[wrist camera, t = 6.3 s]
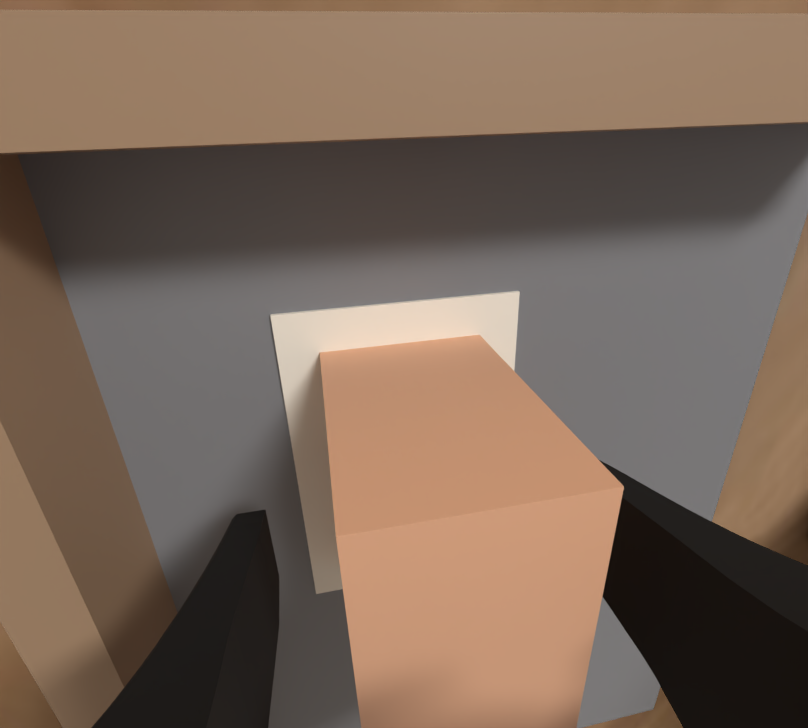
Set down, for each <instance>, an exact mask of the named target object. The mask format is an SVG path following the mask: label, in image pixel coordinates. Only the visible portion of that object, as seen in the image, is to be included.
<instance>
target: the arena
mask: <svg viewBox="0 0 808 728" xmlns="http://www.w3.org/2000/svg"><path fill="white" fill-rule="evenodd" d="M807 213H808V14H780V13H571V12H361V11H151V10H0V622H1V624H2V626H3V627H4V629H5V631H6V632H7V634H8V636H9V637H10V639H11V641H12V643H13V644H14V646H15V648H16V649H17V651H18V653H19V654H20V656H21V658H22V660H23V661H24V663H25V665H26V666H27V668H28V670H29V671H30V673H31V675H32V677H33V678H34V680H35V682H36V683H37V685H38V687H39V688H40V690H41V692H42V694H43V695H44V697H45V699H46V700H47V702H48V704H49V705H50V707H51V709H52V711H53V712H54V714H55V716H56V717H57V719H58V721H59V722H60V724H61V726H62V728H92V726H93V725H94V724H95V723H96V722H97V720H98V719H99V718H100V717H101V716H102V714H103V713H104V712H105V711H106V710H107V708H108V707H109V706H110V705H111V704H112V702H113V701H114V700H115V699H116V697H117V696H118V695H119V693H120V692H121V691H122V690H123V688H124V687H125V686H126V684H127V683H128V682H129V681H130V679H131V678H132V677H133V675H134V674H135V673H136V671H137V670H138V669H139V667H140V666H141V665H142V663H143V662H144V661H145V659H146V658H147V657H148V655H149V654H150V652H151V651H152V650H153V648H154V647H155V645H156V644H157V643H158V641H159V640H160V638H161V637H162V635H163V634H164V632H165V631H166V629H167V628H168V626H169V625H170V623H171V622H172V620H173V619H174V618H175V616H176V615H177V613H178V612H179V610H180V609H181V607H182V606H183V604H184V602H185V601H186V599H187V598H188V596H189V594H190V593H191V591H192V590H193V588H194V586H195V585H196V583H197V581H198V580H199V578H200V576H201V575H202V573H203V572H204V570H205V568H206V566H207V565H208V563H209V561H210V559H211V558H212V556H213V554H214V552H215V551H216V549H217V547H218V545H219V543H220V542H221V540H222V538H223V536H224V534H225V532H226V530H227V528H228V526H229V524H230V522H231V520H232V519H233V518H234V516H235V515H236V514H240V513H246V512H252V511H259V510H266V515H267V519H268V524H269V529H270V534H271V539H272V544H273V548H274V553H275V558H276V563H277V568H278V573H279V632H278V642H277V651H276V661H275V670H274V679H273V688H272V697H271V706H270V715H269V724H268V728H361V722H360V714H359V707H358V699H357V692H356V684H355V677H354V669H353V662H352V654H351V647H350V639H349V632H348V624H347V617H346V609H345V602H344V594H343V587H342V579H341V572H340V564H339V557H338V549H337V542H336V533H335V521H334V510H333V499H332V487H331V476H330V464H329V453H328V442H327V430H326V419H325V408H324V396H323V385H322V374H321V362H320V352H329V351H338V350H347V349H356V348H365V347H374V346H383V345H391V344H400V343H409V342H418V341H427V340H436V339H445V338H454V337H463V336H472V335H480V336H481V337H482V338H483V339H484V340H485V341H486V342H487V343H488V344H489V345H490V346H491V347H492V348H493V349H494V350H495V351H496V353H497V354H498V355H499V356H500V357H501V358H502V359H503V360H504V361H505V362H506V363H507V364H508V365H509V366H510V367H511V368H512V369H513V370H514V371H515V372H516V374H517V375H518V376H519V377H520V378H521V379H522V380H523V381H524V382H525V383H526V384H527V385H528V386H529V387H530V388H531V389H532V390H533V391H534V392H535V394H536V395H537V396H538V397H539V398H540V399H541V400H542V401H543V402H544V403H545V404H546V405H547V406H548V407H549V408H550V409H551V410H552V411H553V412H554V413H555V415H556V416H557V417H558V418H559V419H560V420H561V421H562V422H563V423H564V424H565V425H566V426H567V427H568V428H569V429H570V430H571V431H572V432H573V433H574V434H575V436H576V437H577V438H578V439H579V440H580V441H581V442H582V443H583V444H584V445H585V446H586V447H587V448H588V449H589V450H590V451H591V452H592V453H593V454H594V456H595V457H596V458H597V459H598V460H600V461H602V462H604V463H606V464H608V465H610V466H612V467H613V468H615V469H617V470H619V471H621V472H622V473H624V474H626V475H628V476H629V477H631V478H633V479H635V480H636V481H638V482H640V483H642V484H643V485H645V486H647V487H649V488H651V489H652V490H654V491H656V492H658V493H659V494H661V495H663V496H665V497H666V498H668V499H670V500H672V501H674V502H676V503H677V504H679V505H681V506H683V507H685V508H687V509H688V510H690V511H692V512H694V513H696V514H698V515H700V516H702V517H703V518H705V519H707V520H709V521H711V522H712V519H713V516H714V513H715V509H716V506H717V503H718V500H719V496H720V493H721V490H722V487H723V484H724V480H725V477H726V474H727V471H728V467H729V464H730V461H731V458H732V455H733V451H734V448H735V445H736V442H737V438H738V435H739V432H740V429H741V426H742V422H743V419H744V416H745V413H746V410H747V406H748V403H749V400H750V397H751V393H752V390H753V387H754V384H755V381H756V377H757V374H758V371H759V368H760V364H761V361H762V358H763V355H764V352H765V348H766V345H767V342H768V339H769V336H770V332H771V329H772V326H773V323H774V319H775V316H776V313H777V310H778V307H779V303H780V300H781V297H782V294H783V290H784V287H785V284H786V281H787V278H788V274H789V271H790V268H791V265H792V261H793V258H794V255H795V252H796V249H797V245H798V242H799V239H800V236H801V233H802V229H803V226H804V223H805V220H806V216H807ZM659 690H660V684H659V682H658V681H657V679H656V677H655V675H654V674H653V672H652V670H651V669H650V667H649V666H648V664H647V662H646V661H645V659H644V658H643V656H642V654H641V653H640V651H639V650H638V648H637V647H636V645H635V644H634V642H633V641H632V639H631V638H630V636H629V635H628V634H627V632H626V631H625V629H624V628H623V626H622V625H621V623H620V622H619V620H618V619H617V617H616V616H615V614H614V613H613V611H612V610H611V608H610V607H609V605H608V604H607V602H606V601H605V600H604V598H603V597H602V601H601V606H600V611H599V616H598V621H597V626H596V631H595V636H594V642H593V647H592V652H591V657H590V662H589V667H588V672H587V677H586V682H585V687H584V692H583V697H582V702H581V707H580V712H579V717H578V722H577V727H576V728H583V727H586V726H590V725H594V724H598V723H602V722H606V721H610V720H614V719H617V718H621V717H625V716H629V715H633V714H637V713H641V712H645V711H648V710H652V709H654V706H655V702H656V699H657V696H658V693H659Z"/></svg>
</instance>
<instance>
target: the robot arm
mask: <svg viewBox="0 0 808 728" xmlns="http://www.w3.org/2000/svg"><path fill="white" fill-rule="evenodd" d="M599 461H600V460H599ZM600 462H601V463H602V464H603V465H604V466H605V467H606V468H607V469H608V470H609V471H610V472H611V473H612V474H613V475H614V477H615V478H616V479H617V480H618V481H619V482H620V483H621V484H622V485H623V486H624V490H623V495H622V500H621V505H620V510H619V515H618V520H617V525H616V530H615V535H614V540H613V545H612V551H611V556H610V561H609V566H608V571H607V576H606V581H605V586H604V591H603V596H602V597H603V598H604V600H605V601H606V602H607V604H608V605H609V607H610V608H611V610H612V611H613V613H614V614H615V616H616V617H617V619H618V620H619V622H620V623H621V625H622V626H623V628H624V629H625V631H626V632H627V634H628V635H629V636H630V638H631V639H632V641H633V642H634V644H635V645H636V647H637V648H638V650H639V651H640V653H641V654H642V656H643V658H644V659H645V661H646V662H647V664H648V666H649V667H650V669H651V670H652V672H653V674H654V675H655V677H656V679H657V681H658V682H659V684H660V686H661V688H662V690H663V691H664V693H665V695H666V697H667V699H668V700H669V702H670V704H671V706H672V708H673V709H674V711H675V713H676V715H677V717H678V718H679V720H680V722H681V724H682V726H683V728H808V566H807V565H805V564H802V563H800V562H798V561H795V560H793V559H791V558H788V557H786V556H784V555H781V554H779V553H777V552H775V551H772V550H770V549H768V548H765V547H763V546H761V545H758V544H756V543H754V542H752V541H750V540H748V539H746V538H743V537H741V536H739V535H737V534H735V533H733V532H731V531H729V530H727V529H725V528H723V527H721V526H719V525H717V524H715V523H713V522H711V521H709V520H707V519H705V518H703V517H702V516H700V515H698V514H696V513H694V512H692V511H690V510H688V509H687V508H685V507H683V506H681V505H679V504H677V503H676V502H674V501H672V500H670V499H668V498H666V497H665V496H663V495H661V494H659V493H658V492H656V491H654V490H652V489H651V488H649V487H647V486H645V485H643V484H642V483H640V482H638V481H636V480H635V479H633V478H631V477H629V476H628V475H626V474H624V473H622V472H621V471H619V470H617V469H615V468H613V467H612V466H610V465H608V464H606V463H604V462H602V461H600ZM278 632H279V573H278V568H277V563H276V558H275V553H274V548H273V544H272V539H271V534H270V529H269V524H268V519H267V515H266V510H259V511H252V512H246V513H240V514H236V515H235V516H234V518H233V519H232V520H231V522H230V524H229V526H228V528H227V530H226V532H225V534H224V536H223V538H222V540H221V542H220V543H219V545H218V547H217V549H216V551H215V552H214V554H213V556H212V558H211V559H210V561H209V563H208V565H207V566H206V568H205V570H204V572H203V573H202V575H201V576H200V578H199V580H198V581H197V583H196V585H195V586H194V588H193V590H192V591H191V593H190V594H189V596H188V598H187V599H186V601H185V602H184V604H183V606H182V607H181V609H180V610H179V612H178V613H177V615H176V616H175V618H174V619H173V620H172V622H171V623H170V625H169V626H168V628H167V629H166V631H165V632H164V634H163V635H162V637H161V638H160V640H159V641H158V643H157V644H156V645H155V647H154V648H153V650H152V651H151V652H150V654H149V655H148V657H147V658H146V659H145V661H144V662H143V663H142V665H141V666H140V667H139V669H138V670H137V671H136V673H135V674H134V675H133V677H132V678H131V679H130V681H129V682H128V683H127V684H126V686H125V687H124V688H123V690H122V691H121V692H120V693H119V695H118V696H117V697H116V699H115V700H114V701H113V702H112V704H111V705H110V706H109V707H108V708H107V710H106V711H105V712H104V713H103V714H102V716H101V717H100V718H99V719H98V720H97V722H96V723H95V724H94V725H93V726H92V728H268V724H269V715H270V706H271V697H272V688H273V679H274V670H275V661H276V651H277V642H278Z"/></svg>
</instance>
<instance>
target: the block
mask: <svg viewBox="0 0 808 728" xmlns="http://www.w3.org/2000/svg"><path fill="white" fill-rule="evenodd" d="M320 362H321V374H322V385H323V396H324V408H325V419H326V430H327V442H328V453H329V464H330V476H331V487H332V499H333V510H334V521H335V533H336V542H337V549H338V557H339V564H340V572H341V579H342V587H343V594H344V602H345V609H346V617H347V624H348V632H349V639H350V647H351V654H352V662H353V669H354V677H355V684H356V692H357V699H358V707H359V714H360V722H361V728H576V727H577V722H578V717H579V712H580V707H581V702H582V697H583V692H584V687H585V682H586V677H587V672H588V667H589V662H590V657H591V652H592V647H593V642H594V636H595V631H596V626H597V621H598V616H599V611H600V606H601V601H602V596H603V591H604V586H605V581H606V576H607V571H608V566H609V561H610V556H611V551H612V545H613V540H614V535H615V530H616V525H617V520H618V515H619V510H620V505H621V500H622V495H623V490H624V486H623V485H622V484H621V483H620V482H619V481H618V480H617V479H616V478H615V477H614V475H613V474H612V473H611V472H610V471H609V470H608V469H607V468H606V467H605V466H604V465H603V464H602V463H601V462H600V461H599V460H598V459H597V458H596V457H595V456H594V454H593V453H592V452H591V451H590V450H589V449H588V448H587V447H586V446H585V445H584V444H583V443H582V442H581V441H580V440H579V439H578V438H577V437H576V436H575V434H574V433H573V432H572V431H571V430H570V429H569V428H568V427H567V426H566V425H565V424H564V423H563V422H562V421H561V420H560V419H559V418H558V417H557V416H556V415H555V413H554V412H553V411H552V410H551V409H550V408H549V407H548V406H547V405H546V404H545V403H544V402H543V401H542V400H541V399H540V398H539V397H538V396H537V395H536V394H535V392H534V391H533V390H532V389H531V388H530V387H529V386H528V385H527V384H526V383H525V382H524V381H523V380H522V379H521V378H520V377H519V376H518V375H517V374H516V372H515V371H514V370H513V369H512V368H511V367H510V366H509V365H508V364H507V363H506V362H505V361H504V360H503V359H502V358H501V357H500V356H499V355H498V354H497V353H496V351H495V350H494V349H493V348H492V347H491V346H490V345H489V344H488V343H487V342H486V341H485V340H484V339H483V338H482V337H481V336H480V335H472V336H463V337H454V338H445V339H436V340H427V341H418V342H409V343H400V344H391V345H383V346H374V347H365V348H356V349H347V350H338V351H329V352H320Z"/></svg>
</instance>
